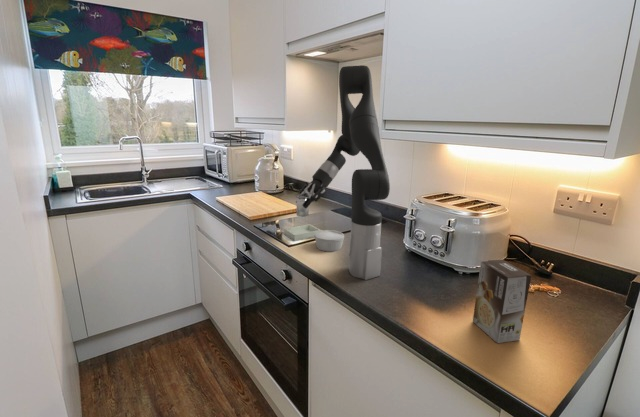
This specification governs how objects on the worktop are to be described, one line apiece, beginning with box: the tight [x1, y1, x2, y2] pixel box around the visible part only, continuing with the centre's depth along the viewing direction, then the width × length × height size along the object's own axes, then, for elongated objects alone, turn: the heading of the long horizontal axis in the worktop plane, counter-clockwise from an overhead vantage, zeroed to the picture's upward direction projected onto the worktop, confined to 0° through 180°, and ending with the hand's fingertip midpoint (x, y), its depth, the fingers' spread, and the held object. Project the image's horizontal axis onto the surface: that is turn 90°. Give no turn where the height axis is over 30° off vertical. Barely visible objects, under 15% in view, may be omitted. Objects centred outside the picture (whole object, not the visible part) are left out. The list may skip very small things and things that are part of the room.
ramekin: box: [314, 229, 345, 253], centre depth 130 cm, size 11×11×5 cm
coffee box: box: [472, 259, 532, 344], centre depth 79 cm, size 9×6×16 cm
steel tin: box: [295, 194, 310, 218], centre depth 140 cm, size 5×5×8 cm
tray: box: [283, 223, 322, 242], centre depth 143 cm, size 10×13×2 cm
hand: (300, 205), depth 140 cm, fingers closed on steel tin, 5 cm apart
